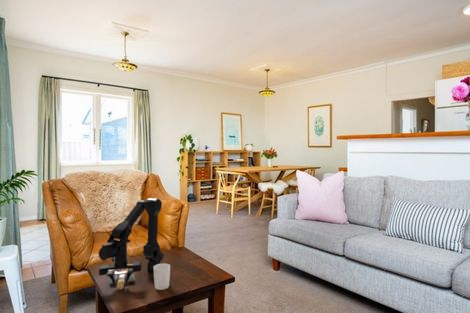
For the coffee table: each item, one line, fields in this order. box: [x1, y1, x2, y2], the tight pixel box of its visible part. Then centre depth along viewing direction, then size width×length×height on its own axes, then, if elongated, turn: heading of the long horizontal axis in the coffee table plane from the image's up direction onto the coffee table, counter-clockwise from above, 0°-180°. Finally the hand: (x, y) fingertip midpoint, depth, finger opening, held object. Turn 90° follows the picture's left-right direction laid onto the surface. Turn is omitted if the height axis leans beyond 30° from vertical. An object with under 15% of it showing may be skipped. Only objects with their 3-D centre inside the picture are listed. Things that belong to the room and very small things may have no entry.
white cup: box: [153, 262, 171, 291], centre depth 146 cm, size 8×8×10 cm
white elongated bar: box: [116, 270, 126, 291], centre depth 150 cm, size 16×3×3 cm, turn 16°
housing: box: [109, 270, 135, 285], centre depth 154 cm, size 11×6×5 cm, turn 106°
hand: (120, 285), depth 144 cm, fingers open, 5 cm apart
